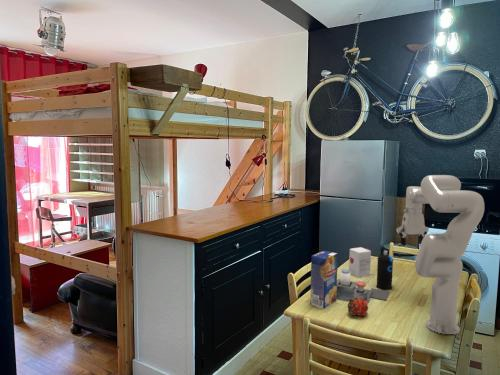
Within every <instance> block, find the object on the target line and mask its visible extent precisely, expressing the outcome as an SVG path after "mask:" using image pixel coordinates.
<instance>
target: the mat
mask: <svg viewBox="0 0 500 375" xmlns="http://www.w3.org/2000/svg"><path fill="white" fill-rule="evenodd" d="M370 290H373V293H372V295H371V298H370V299H373V300H379V301H380V300H381V301H384V302H386V301H388V298H389V294H390V292H391V290H381V289H379V288H371V289H370Z"/></svg>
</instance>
